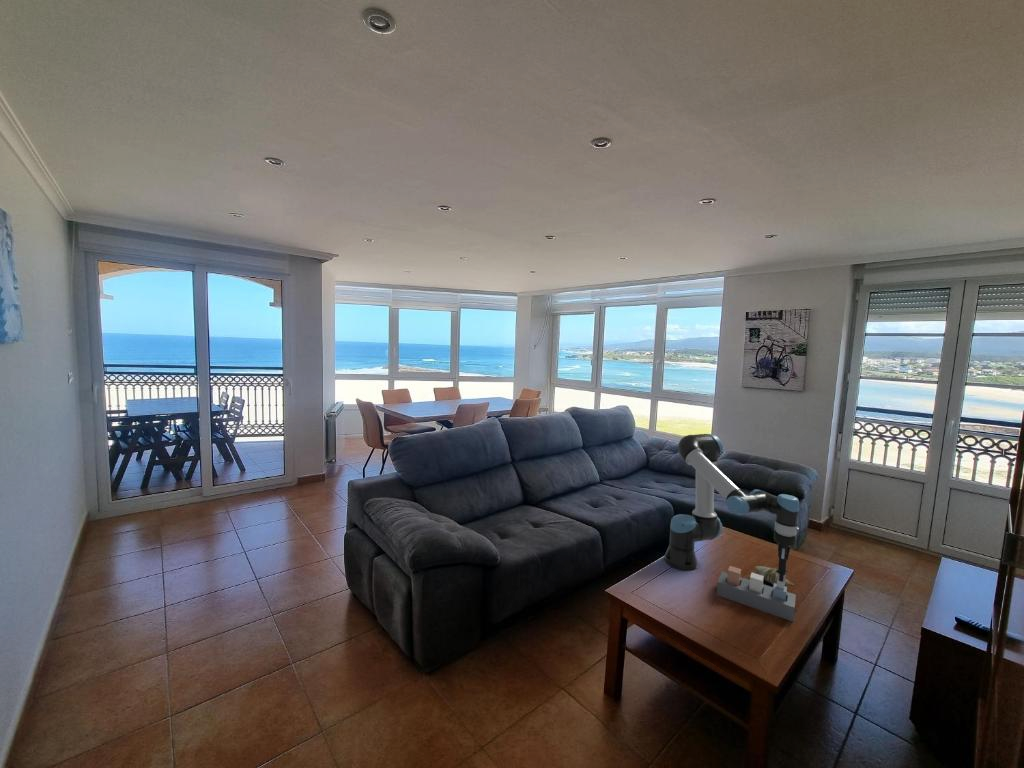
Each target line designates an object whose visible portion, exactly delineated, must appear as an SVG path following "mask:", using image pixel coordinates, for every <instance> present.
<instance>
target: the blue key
mask: <svg viewBox="0 0 1024 768" xmlns="http://www.w3.org/2000/svg"><path fill="white" fill-rule="evenodd" d="M772 587H773V596H772V597H774V598H777V599H780V600H783V601H786V593H787V592H788V591H787V590H788V586H785V587H784V589H782V588H778V587H777V584H775V583H774V586H773V585H772Z"/></svg>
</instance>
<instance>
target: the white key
mask: <svg viewBox="0 0 1024 768" xmlns="http://www.w3.org/2000/svg"><path fill="white" fill-rule="evenodd" d="M763 579H764V576H762V575H759V574H756V572H751V574H750V576H749V580H750V584H749V589H750V590H753V591H756V592H759V593H762V590H763Z"/></svg>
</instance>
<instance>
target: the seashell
mask: <svg viewBox="0 0 1024 768" xmlns="http://www.w3.org/2000/svg"><path fill="white" fill-rule="evenodd" d="M776 570H778V569H777V568H776V567H768V566H764V565H760V566H758V565H756V566H755V574H759V575H762V576H764V579H763V584H764V585H767V584H771V585H772V587H773V586H774V583H775V584H777V576H778V573H777V572H776ZM788 586H790V587H795V584H794V583H793V582H791V581H790V580H788V579H786V578H785V587H788Z"/></svg>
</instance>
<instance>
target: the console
mask: <svg viewBox="0 0 1024 768" xmlns="http://www.w3.org/2000/svg"><path fill="white" fill-rule="evenodd" d="M727 576H728V572H725V571H721V573H720V576H719V578H718V581H717V584H716V585H717V589H716V596H719V597H722V598H723V599H724V598H725V599H727V600H731V601H733V602H736V603H738V604H741V605H745V606H747V607H750V608H752V609H755V610H758V611H761V612H764V613H767V614H770V615H773V616H776V617H779V618H782V619H785V620H788V621H790V622H794V620H795V619H794V618H795V607H796V594H795V593H792V592H789V591H787V593H786V601H783V600H780V599H777V598H774V597H772V596H773V586H770V585H767V584H763V590H762V593H759V592H756V591H753V590H750V589H749V584H750V579H748V578H745V577H742V576H741V580H740V586H738V585H734V584H731V583H728V582H727Z"/></svg>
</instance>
